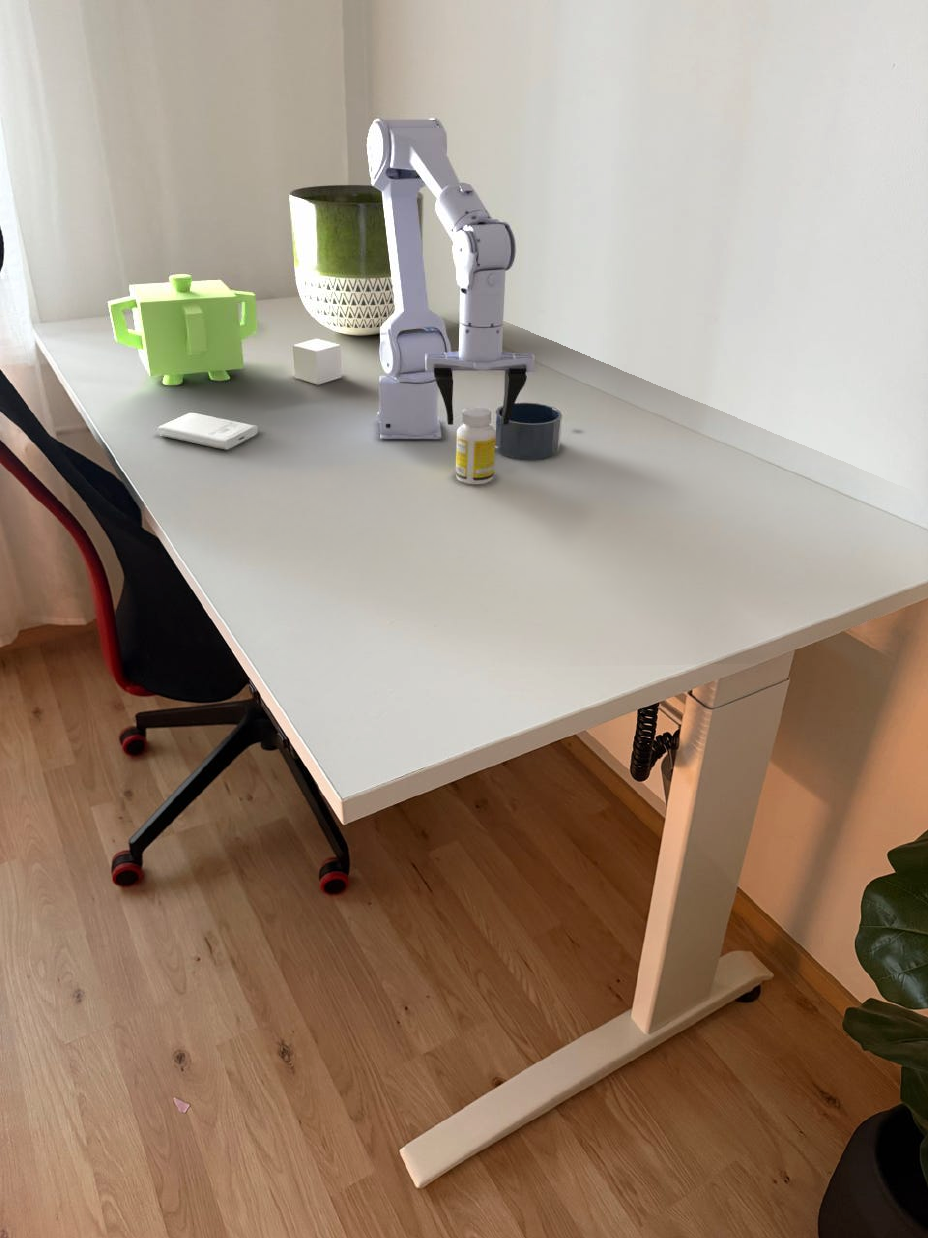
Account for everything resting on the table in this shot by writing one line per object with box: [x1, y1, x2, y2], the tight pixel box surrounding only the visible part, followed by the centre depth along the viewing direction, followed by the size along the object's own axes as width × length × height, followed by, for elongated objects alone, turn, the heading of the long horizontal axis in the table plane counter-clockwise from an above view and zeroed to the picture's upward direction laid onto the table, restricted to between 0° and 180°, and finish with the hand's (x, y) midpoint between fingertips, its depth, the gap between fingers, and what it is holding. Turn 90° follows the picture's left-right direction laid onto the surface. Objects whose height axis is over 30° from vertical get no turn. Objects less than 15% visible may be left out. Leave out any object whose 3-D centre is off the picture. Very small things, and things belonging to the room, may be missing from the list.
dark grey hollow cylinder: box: [494, 402, 563, 461], centre depth 145 cm, size 10×10×6 cm
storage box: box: [107, 273, 259, 386], centre depth 169 cm, size 25×23×17 cm
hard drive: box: [158, 412, 258, 451], centre depth 146 cm, size 2×8×12 cm
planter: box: [288, 184, 425, 336], centre depth 195 cm, size 27×27×27 cm
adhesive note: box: [292, 338, 342, 385], centre depth 172 cm, size 6×6×6 cm
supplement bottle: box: [455, 406, 496, 485], centre depth 133 cm, size 5×5×10 cm
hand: (477, 422), depth 131 cm, fingers open, 7 cm apart
